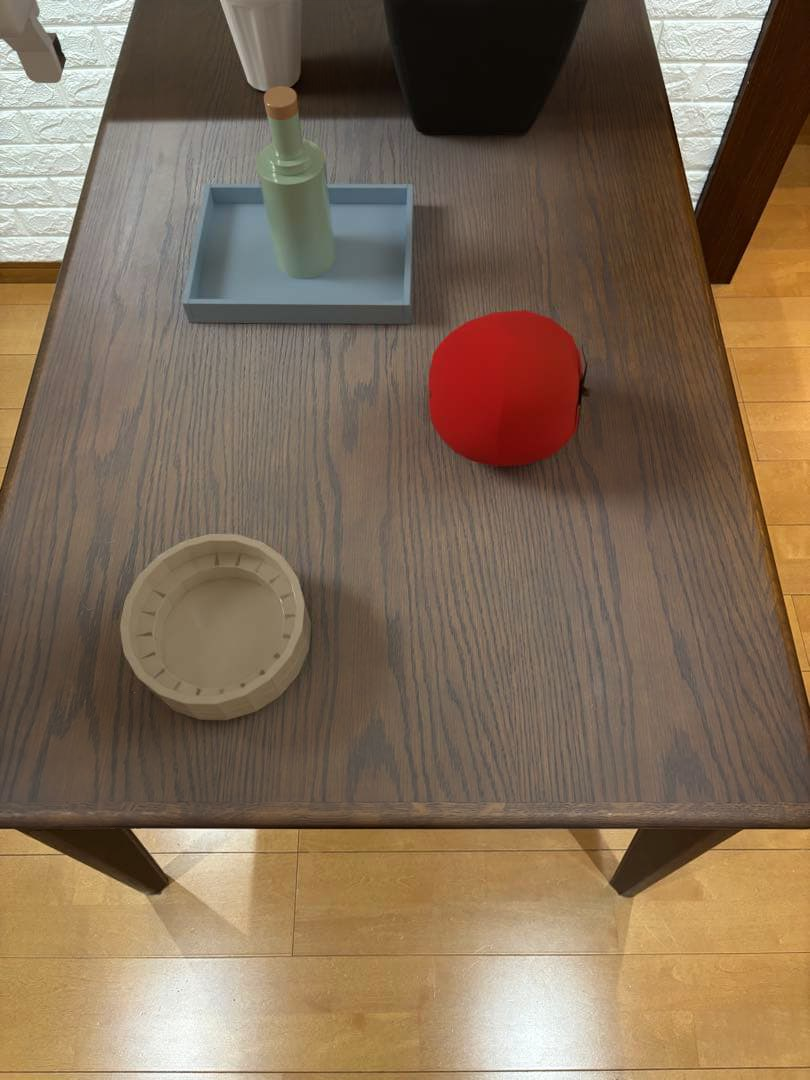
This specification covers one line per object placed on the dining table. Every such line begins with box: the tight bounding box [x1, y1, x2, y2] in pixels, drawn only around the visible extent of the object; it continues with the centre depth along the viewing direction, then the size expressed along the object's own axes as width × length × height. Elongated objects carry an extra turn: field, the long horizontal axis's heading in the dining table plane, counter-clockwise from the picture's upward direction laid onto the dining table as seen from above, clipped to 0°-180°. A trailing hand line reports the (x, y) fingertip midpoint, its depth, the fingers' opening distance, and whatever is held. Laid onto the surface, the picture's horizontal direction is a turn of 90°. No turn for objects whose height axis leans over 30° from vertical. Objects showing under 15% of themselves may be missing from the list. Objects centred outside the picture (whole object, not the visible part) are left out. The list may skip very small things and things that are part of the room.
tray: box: [181, 182, 414, 325], centre depth 81 cm, size 21×16×3 cm
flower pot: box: [382, 0, 588, 135], centre depth 86 cm, size 19×19×17 cm
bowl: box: [119, 533, 312, 721], centre depth 62 cm, size 13×13×5 cm
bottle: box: [255, 86, 336, 279], centre depth 74 cm, size 6×6×17 cm
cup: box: [219, 0, 303, 92], centre depth 90 cm, size 10×10×13 cm
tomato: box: [427, 309, 592, 467], centre depth 68 cm, size 13×13×13 cm
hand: (68, 21), depth 46 cm, fingers open, 8 cm apart
